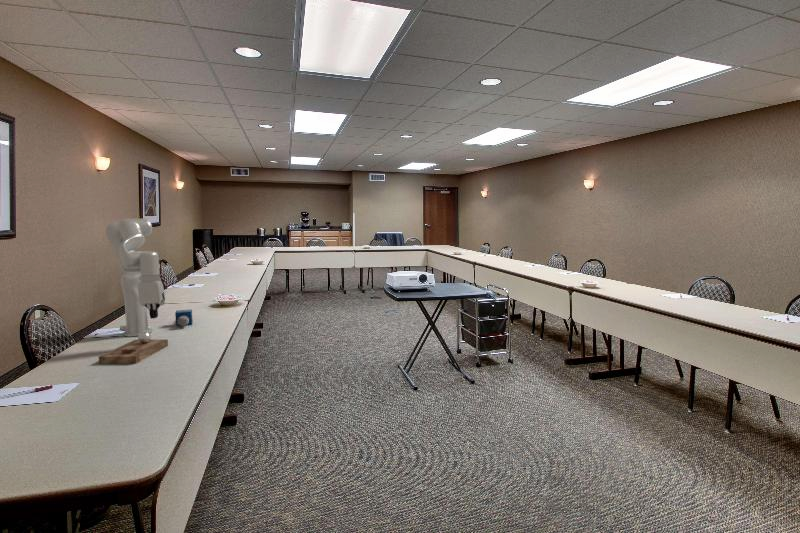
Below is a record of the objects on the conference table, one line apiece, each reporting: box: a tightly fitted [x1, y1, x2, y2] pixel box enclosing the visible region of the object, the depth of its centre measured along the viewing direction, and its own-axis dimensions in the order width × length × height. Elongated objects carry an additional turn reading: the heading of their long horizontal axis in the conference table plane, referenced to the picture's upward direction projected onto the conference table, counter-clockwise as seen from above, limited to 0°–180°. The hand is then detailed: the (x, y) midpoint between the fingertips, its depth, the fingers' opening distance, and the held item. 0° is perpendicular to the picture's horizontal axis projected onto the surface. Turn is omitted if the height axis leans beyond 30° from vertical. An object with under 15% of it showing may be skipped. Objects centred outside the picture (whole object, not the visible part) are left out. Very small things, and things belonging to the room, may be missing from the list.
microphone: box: [174, 309, 193, 328], centre depth 237 cm, size 8×8×25 cm
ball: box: [137, 332, 152, 343], centre depth 191 cm, size 5×5×5 cm
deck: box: [98, 339, 169, 365], centre depth 184 cm, size 15×24×3 cm, turn 0°
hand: (154, 317), depth 198 cm, fingers closed
